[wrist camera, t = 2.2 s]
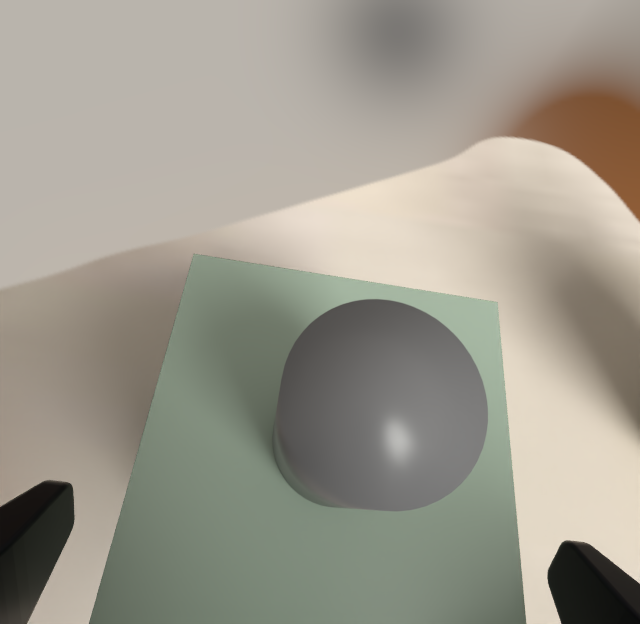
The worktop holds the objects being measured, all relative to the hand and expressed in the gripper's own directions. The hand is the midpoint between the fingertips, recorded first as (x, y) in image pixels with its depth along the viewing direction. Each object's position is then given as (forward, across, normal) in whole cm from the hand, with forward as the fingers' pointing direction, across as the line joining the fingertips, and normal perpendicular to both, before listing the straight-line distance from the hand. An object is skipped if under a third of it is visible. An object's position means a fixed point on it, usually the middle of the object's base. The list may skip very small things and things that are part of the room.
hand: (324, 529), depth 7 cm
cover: (+7, 0, +5) cm, 9 cm away
